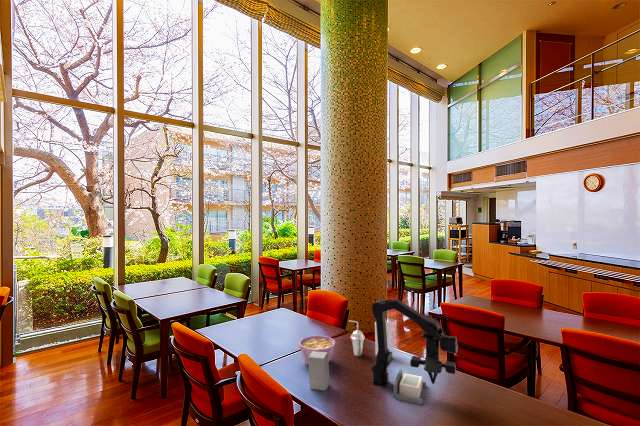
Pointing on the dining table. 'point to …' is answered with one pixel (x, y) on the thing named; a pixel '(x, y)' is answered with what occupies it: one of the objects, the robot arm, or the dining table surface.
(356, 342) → the cup with straw
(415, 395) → the carton
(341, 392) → the dining table surface
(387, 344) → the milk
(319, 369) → the skincare box
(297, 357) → the dining table surface
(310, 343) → the bowl of food
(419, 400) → the display stand
